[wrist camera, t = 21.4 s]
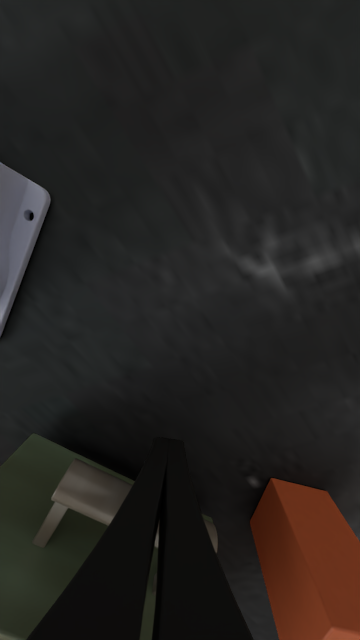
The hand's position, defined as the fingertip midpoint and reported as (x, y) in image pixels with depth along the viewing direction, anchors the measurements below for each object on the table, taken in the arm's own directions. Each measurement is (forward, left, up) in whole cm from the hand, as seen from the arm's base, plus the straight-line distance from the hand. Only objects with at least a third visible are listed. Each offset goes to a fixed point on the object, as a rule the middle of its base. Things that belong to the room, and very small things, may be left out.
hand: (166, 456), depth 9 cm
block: (+3, +11, -4) cm, 13 cm away
